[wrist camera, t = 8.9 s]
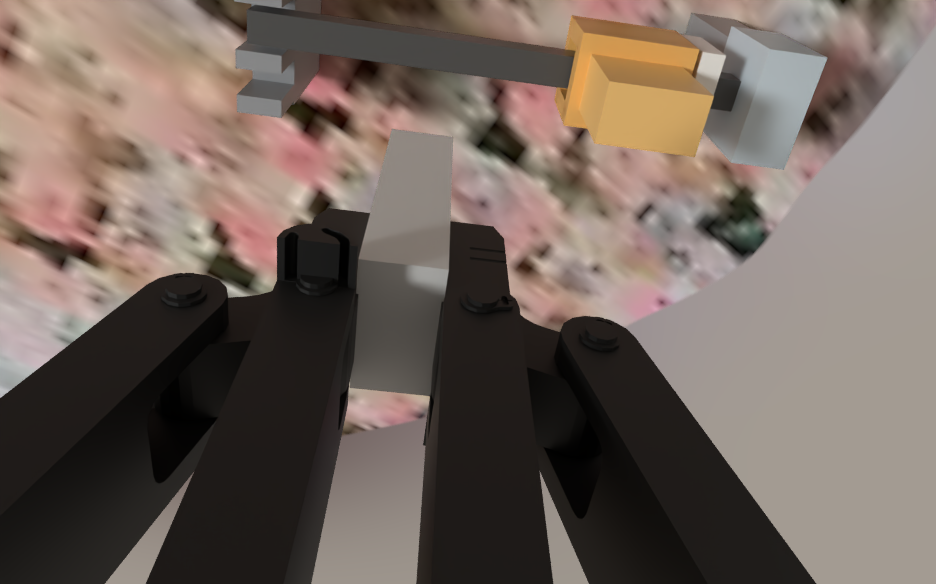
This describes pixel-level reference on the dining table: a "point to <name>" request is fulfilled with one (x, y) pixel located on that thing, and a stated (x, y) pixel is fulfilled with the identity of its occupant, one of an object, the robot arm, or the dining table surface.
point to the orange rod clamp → (634, 87)
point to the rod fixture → (540, 68)
